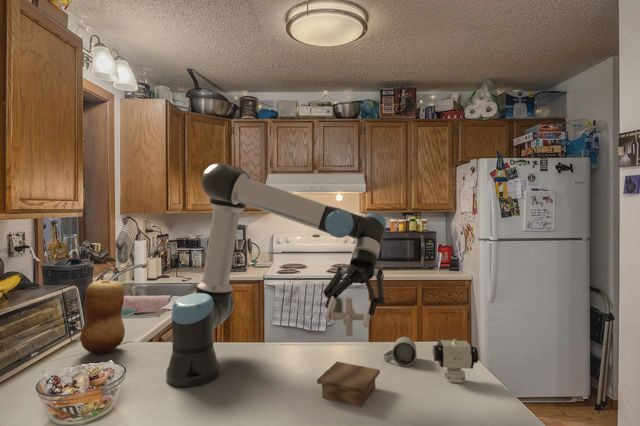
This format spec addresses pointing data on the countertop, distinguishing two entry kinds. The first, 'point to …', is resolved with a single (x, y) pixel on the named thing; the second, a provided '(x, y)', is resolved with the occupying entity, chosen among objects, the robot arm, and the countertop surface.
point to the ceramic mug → (402, 352)
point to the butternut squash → (103, 317)
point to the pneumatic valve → (455, 358)
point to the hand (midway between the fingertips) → (345, 322)
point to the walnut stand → (348, 383)
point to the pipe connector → (347, 316)
